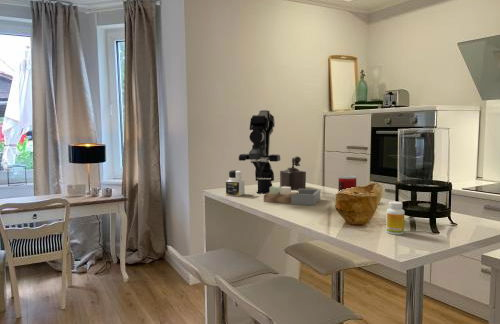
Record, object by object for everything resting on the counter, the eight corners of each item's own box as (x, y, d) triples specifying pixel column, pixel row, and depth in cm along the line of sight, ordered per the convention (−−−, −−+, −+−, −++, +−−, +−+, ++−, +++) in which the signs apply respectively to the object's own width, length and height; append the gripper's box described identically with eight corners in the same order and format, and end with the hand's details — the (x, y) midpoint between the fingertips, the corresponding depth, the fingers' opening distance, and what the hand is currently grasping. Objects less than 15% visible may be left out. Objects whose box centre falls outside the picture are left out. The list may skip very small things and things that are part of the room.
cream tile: (280, 194, 176) (280, 187, 176) (282, 192, 180) (282, 186, 180) (288, 194, 175) (288, 188, 175) (290, 193, 179) (290, 186, 179)
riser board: (263, 201, 175) (263, 195, 175) (271, 197, 186) (271, 190, 186) (292, 203, 171) (292, 196, 170) (298, 198, 182) (298, 192, 182)
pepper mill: (278, 187, 215) (278, 155, 213) (294, 186, 220) (294, 154, 219) (296, 191, 201) (296, 157, 200) (312, 189, 207) (312, 156, 206)
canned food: (359, 200, 178) (359, 176, 177) (350, 202, 172) (350, 178, 171) (343, 198, 183) (344, 174, 182) (335, 200, 177) (335, 176, 176)
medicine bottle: (225, 195, 192) (225, 171, 191) (231, 193, 198) (231, 169, 197) (239, 196, 189) (238, 171, 188) (244, 193, 196) (244, 170, 195)
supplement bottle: (406, 235, 121) (407, 204, 120) (388, 234, 121) (388, 204, 121) (401, 230, 126) (402, 201, 125) (384, 230, 127) (385, 200, 126)
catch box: (291, 204, 169) (291, 193, 169) (298, 198, 183) (298, 188, 183) (314, 205, 166) (314, 195, 166) (320, 199, 180) (320, 189, 180)
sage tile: (269, 193, 178) (269, 187, 178) (272, 192, 182) (272, 186, 182) (277, 194, 177) (277, 187, 176) (280, 192, 180) (280, 186, 180)
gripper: (234, 143, 175) (234, 177, 177) (273, 143, 169) (273, 179, 171) (242, 142, 186) (243, 174, 187) (280, 142, 179) (280, 176, 181)
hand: (259, 176), depth 181 cm, fingers closed
